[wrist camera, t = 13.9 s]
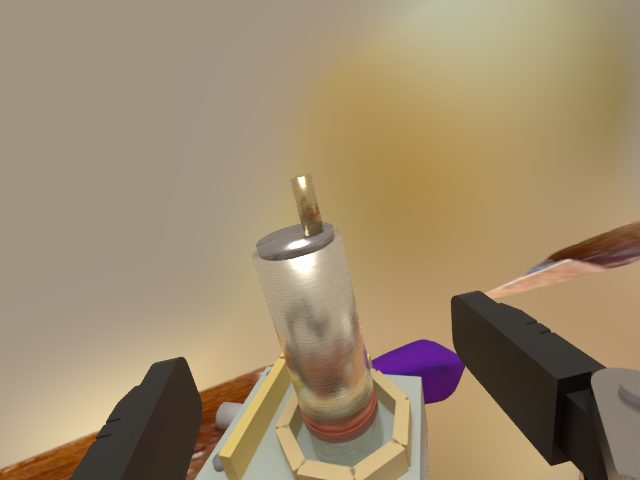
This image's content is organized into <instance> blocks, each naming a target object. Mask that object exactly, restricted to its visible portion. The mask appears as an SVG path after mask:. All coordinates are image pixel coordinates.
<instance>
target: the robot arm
mask: <svg viewBox="0 0 640 480" xmlns="http://www.w3.org/2000/svg"><path fill="white" fill-rule="evenodd" d="M451 316H452V335H453V336H452V337H453V344H454V348H455V350H456V353H457V355H458V357H459V358H460V360H461V361H462V362H463V364H464V365H465V366H466V367H467V368H468V370H470V372H471V373H472V374H473V375H474V377H476V379H477V380H478V381H479V382H480V384H481V385H482V386H483V387H484V388H485V389H486V391H487V392H488V393H489V394H490V395H491V396H492V398H493V399H494V400H495V401H496V402H497V403H498V405H499V406H500V407H501V408H502V409H503V411H504V412H505V413H506V414H507V415H508V416H509V418H510V419H511V420H512V421H513V422H514V423H515V425H516V426H517V427H518V428H519V429H520V430H521V432H522V433H523V434H524V435H525V436H526V438H527V439H528V440H529V441H530V442H531V443H532V444H533V446H534V447H535V448H536V449H537V450H538V452H539V453H540V454H541V455H542V456H543V457H544V459H545V460H546V461H547V462H548V463H549V464H550V466H553V465H556V464H560V463H564V462H568V461H572V462H573V464H574V465H575V466H576V467H577V468H578V469H579V470H580V475H579V480H640V371H636V370H631V369H625V368H606V367H605V366H603V365H602V364H600V363H599V362H597V361H596V360H594V359H593V358H591V357H590V356H588V355H587V354H585V353H584V352H582V351H581V350H580V349H578V348H576V347H575V346H573V345H572V344H570V343H569V342H568V341H566V340H565V339H563V338H562V337H560V336H559V335H557V334H556V333H554V332H553V333H552V332H551V331H550V329H548V328H547V327H545V326H544V325H542V324H541V323H537V321H536V320H535V319H533V318H532V317H530V316H528V315H527V314H526V313H525V312H523V311H522V310H519V309H517V308H514V307H511V306H508V305H506V304H503V303H499V304H498V303H496V302H495V301H494V300H492V299H491V298H489V297H488V296H487V295H485V294H484V293H482V292H481V291H474V292H470V293H465V294H461V295H456V296H454V297H452V299H451ZM201 422H202V402H201V398H200V395H199V393H198V390H197V387H196V385H195V382H194V379H193V376H192V374H191V371H190V368H189V366H188V363H187V361H186V359H185V358H183V357H178V358H174V359H170V360H165V361H161V362H156V363H154V364H152V366H151V367H150V369H149V371H148V373H147V374H146V376H145V377H144V379H143V381H142V383H141V384H140V385H139V386H135V387H134V388H133V389H132V390H131V391H130V392H129V393H128V394H127V395H125V396H124V397H123V398H122V399H121V400H120V401H119V402H118V404H117V405H116V406H115V408H114V410H113V411H112V413H111V414H110V416H109V418H108V419H107V421H106V425H104V426H103V427H102V429H101V430H100V432H99V434H98V435H97V437H96V441H94V442H93V443H92V445H91V446H90V448H89V449H88V451H87V453H86V454H85V456H84V457H83V459H82V461H81V462H80V464H79V465H78V467H77V469H76V470H75V472H74V473H73V475H72V476H71V478H70V480H185V479H186V476H187V472H188V469H189V465H190V461H191V458H192V454H193V451H194V447H195V444H196V440H197V436H198V433H199V429H200V426H201Z"/></svg>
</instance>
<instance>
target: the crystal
mask: <svg viewBox="0 0 640 480" xmlns="http://www.w3.org/2000/svg"><path fill="white" fill-rule="evenodd" d="M371 362H372V368H373V369H376V372H377V371H378V370H379V371H380V372H381V373H382V374H386V375H401V376H417V377H421V379H422V388H423V396H424V404H428V403H434V402H439V401H443V400H445V399H447V398H448V397H449V396H450V395H451V394H452V393H453V392H454V391H455V389H456V387H457V385H458V383H459V381H460V378H461V376H462V373H463V370H464V368H465V365H464V364H463V362H462V361H461V360H460V358H459V357H458V355H457V354H456V353H454V352H453V351H451V350H449V349H447V348H445V347H444V346H442V345H440V344H438V343H436V342H433V341H429V340H418V341H415V342H412V343H410V344H407V345H405V346H402V347H400V348H397V349H395V350H393V351H390V352H388V353H386V354H384V355H382V356H380V357H378V358H376V359H374V360H372V361H371Z"/></svg>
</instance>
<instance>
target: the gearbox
mask: <svg viewBox="0 0 640 480" xmlns="http://www.w3.org/2000/svg"><path fill="white" fill-rule="evenodd" d="M279 357H280V358H279V359H278V360H277V361H276V363H275V364H274V366H273V367H267V368H266V370H265V371H264V373H263V374H262V376H261V377H260V379H259V381H258V382H257V384H256V385H255V387H254V388H253V390H252V391H251V393H250V395H249V396H248V398H247V399H246V401H245V402H244V404H238V403H230V402H224V403H223V404H222V405H221V406H220V407H219V409H218V412H217V415H216V424H217V426H218V427H219V428H222V429H227V430H226V432H225V433H224V435H223V437H222V438H221V440H220V441H219V443H218V444H217V446H216V447H215V449H214V451H213V452H212V454H211V455H210V457H209V458H208V460H207V461H206V463H205V465H204V466H203V468H202V469H201V471H200V472H199V474H198V475H197V477H196V479H195V480H428V449H427V448H428V443H427V420H426V412H425V404H424V396H423V388H422V379H421V377H417V376H401V375H386V374H382V373H381V372H380V371H379V370H378V371H377V372H376V369H373V368H372V362H371V357H370V354H369V353H367V357H368V362H369V366H370V371H371V376H372V380H373V382H374V386H375V391H376V396H377V400H378V408H379V413H380V417H381V422H382V427H383V441H382V445H381V448H379V449H378V450H377V451H375V452H374V453H372V454H371V455H369V456H368V457H367V458H365V459H364V460H362V461H361V462H359V463H358V464H357V465H355V466H354V467H346V466H340V465H335V464H329V463H323V462H321V461H320V460H319V459H318V458H317V456H316V454H315V452H314V450H313V446H312V443H311V440H310V437H309V434H308V431H307V428H306V426H305V424H304V420H303V417H302V414H301V411H300V408H299V404H298V399H297V396H296V393H295V390H294V387H293V383H292V380H291V377H290V374H289V371H288V368H287V365H286V361H285V358H284V355H283V352H282V353H281V354H280V356H279Z"/></svg>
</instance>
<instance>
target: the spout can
mask: <svg viewBox="0 0 640 480" xmlns="http://www.w3.org/2000/svg"><path fill="white" fill-rule="evenodd" d="M290 180H291V185H292V188H293V192H294V196H295V200H296V204H297V208H298V212H299V216H300V220H301V224H298V225H294V226H290V227H287V228H283V229H280V230H278V231H275V232H273V233H271V234H269V235H267V236H265V237H263V238H262V239H261V240H259V241H258V243H257V244H256V247H257V250H256V251H255V252H254V254H253V260H254V264H255V267H256V270H257V273H258V276H259V280H260V283H261V286H262V289H263V292H264V295H265V298H266V301H267V305H268V308H269V311H270V314H271V317H272V320H273V323H274V327H275V330H276V333H277V336H278V339H279V342H280V346H281V349H282V352H283V355H284V358H285V361H286V365H287V368H288V371H289V374H290V377H291V380H292V383H293V387H294V390H295V393H296V396H297V399H298V404H299V408H300V411H301V414H302V417H303V420H304V424H305V426H306V428H307V431H308V434H309V437H310V440H311V443H312V446H313V450H314V452H315V454H316V456H317V458H318V459H319V460H320V461H321V462H323V463H329V464H335V465H340V466H346V467H354V466H355V465H357V464H358V463H359V462H361V461H362V460H364V459H365V458H367V457H368V456H369V455H371V454H372V453H374V452H375V451H377V450H378V449H379V448H381V445H382V441H383V427H382V422H381V417H380V413H379V408H378V400H377V396H376V391H375V386H374V382H373V380H372V376H371V371H370V366H369V362H368V357H367V353H366V348H365V343H364V339H363V334H362V329H361V325H360V320H359V316H358V311H357V306H356V301H355V297H354V292H353V287H352V283H351V278H350V273H349V269H348V264H347V259H346V255H345V251H344V246H343V241H342V236H341V233H340V232H339V231H337V230H334V229H333V227H332V225H331V224H329V223H325V222H322V220H321V216H320V212H319V207H318V203H317V199H316V194H315V190H314V186H313V182H312V177H311V174H305V175H300V176H297V177H293V178H291V179H290Z"/></svg>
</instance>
